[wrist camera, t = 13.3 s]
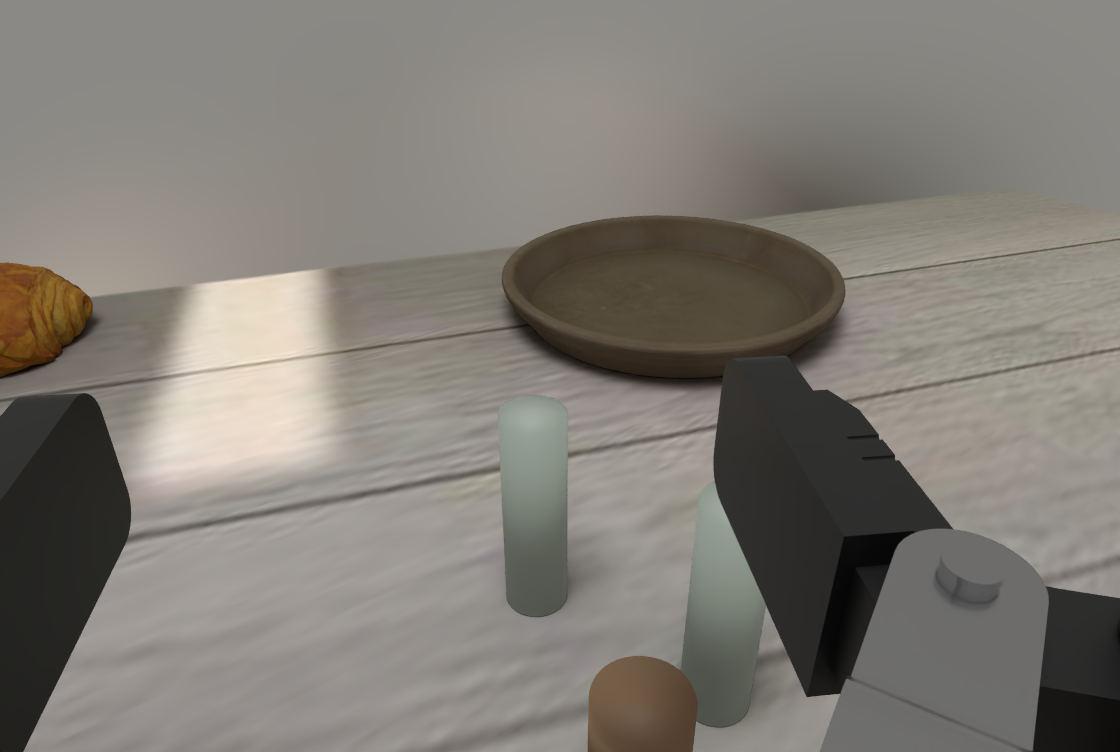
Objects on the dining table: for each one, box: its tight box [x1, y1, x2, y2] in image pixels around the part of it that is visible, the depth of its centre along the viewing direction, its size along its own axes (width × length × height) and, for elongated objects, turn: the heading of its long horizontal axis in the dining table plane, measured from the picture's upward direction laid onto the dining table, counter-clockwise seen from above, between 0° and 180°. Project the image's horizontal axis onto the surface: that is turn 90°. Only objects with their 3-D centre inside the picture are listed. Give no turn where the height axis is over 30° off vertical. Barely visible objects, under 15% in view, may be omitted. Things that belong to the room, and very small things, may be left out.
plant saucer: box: [502, 216, 845, 378], centre depth 77 cm, size 31×31×5 cm
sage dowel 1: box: [498, 395, 568, 617], centre depth 43 cm, size 3×3×12 cm
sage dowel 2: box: [681, 481, 766, 727], centre depth 37 cm, size 3×3×12 cm
